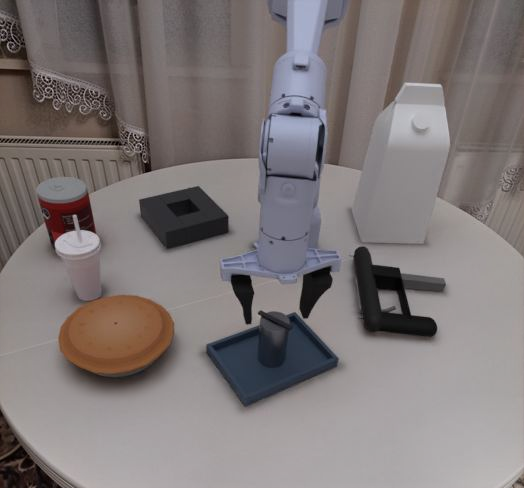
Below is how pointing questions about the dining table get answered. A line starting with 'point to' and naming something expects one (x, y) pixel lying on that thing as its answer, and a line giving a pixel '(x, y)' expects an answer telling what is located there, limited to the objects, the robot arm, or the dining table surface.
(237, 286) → the robot arm
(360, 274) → the door handle
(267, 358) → the dark grey canister
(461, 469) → the dining table surface
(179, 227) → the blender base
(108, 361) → the pie
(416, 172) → the milk
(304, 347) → the tray
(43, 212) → the canned food
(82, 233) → the smoothie
